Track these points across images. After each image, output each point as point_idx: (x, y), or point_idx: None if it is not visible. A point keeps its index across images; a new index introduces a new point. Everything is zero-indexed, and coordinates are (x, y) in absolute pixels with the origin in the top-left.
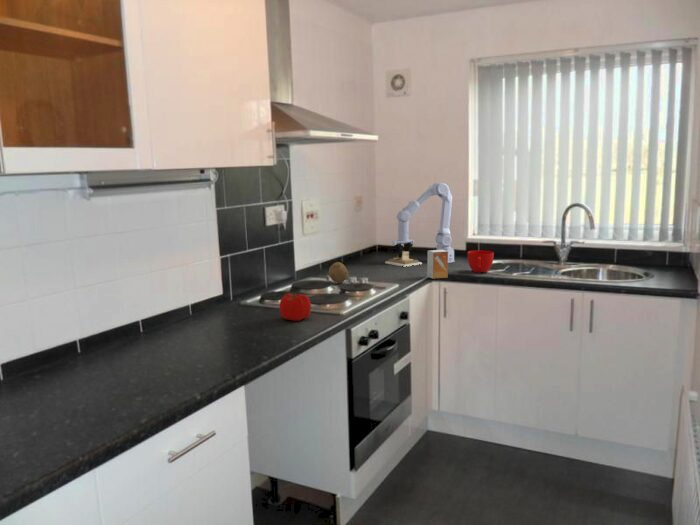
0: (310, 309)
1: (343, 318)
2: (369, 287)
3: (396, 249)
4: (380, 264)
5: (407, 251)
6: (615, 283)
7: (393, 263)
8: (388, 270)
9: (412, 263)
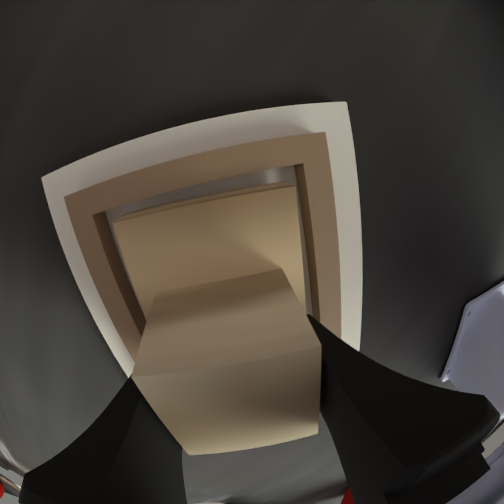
0: (3, 491)
1: None
2: None
3: (89, 446)
4: (4, 227)
5: (307, 426)
6: None
7: (96, 318)
8: (51, 425)
9: None
